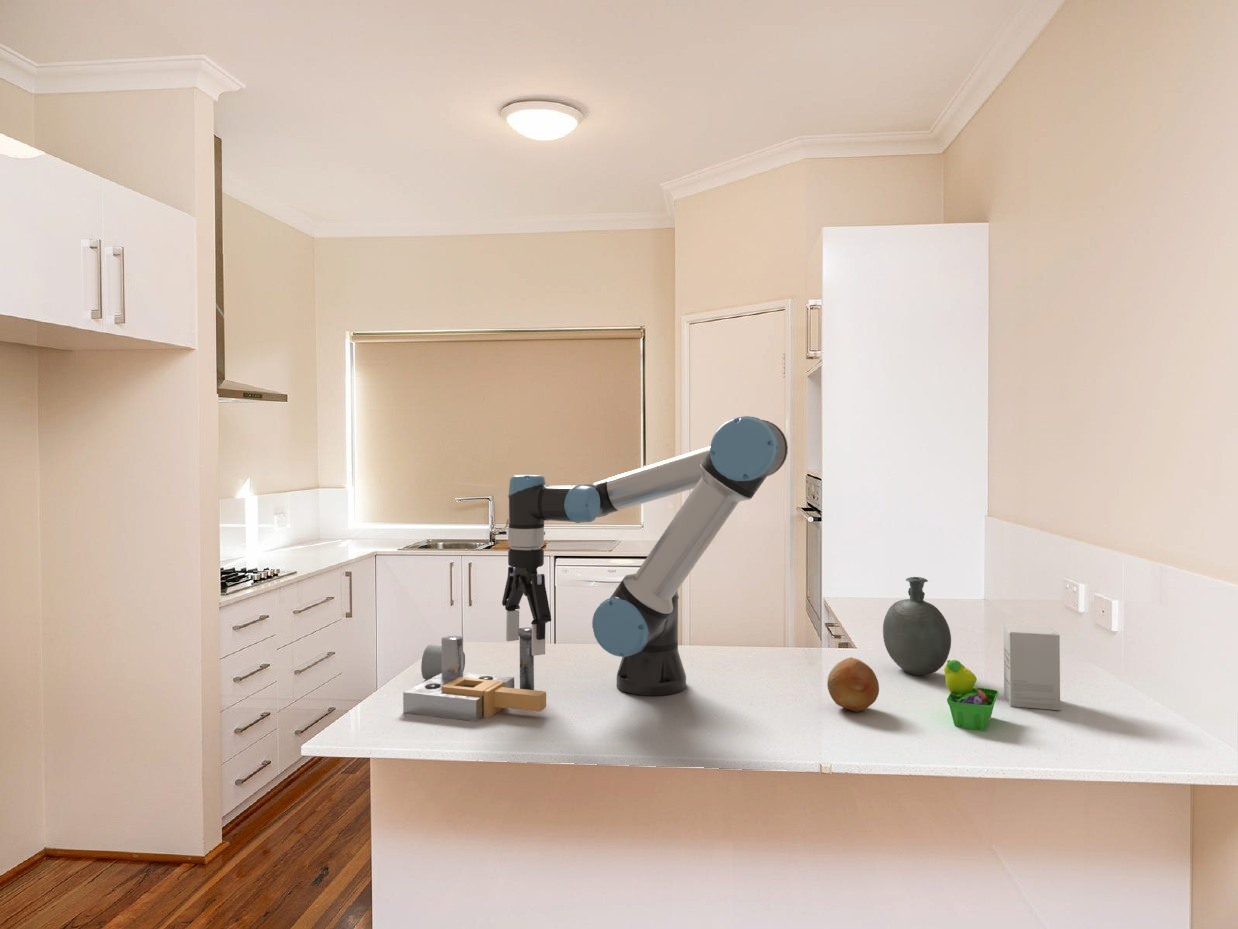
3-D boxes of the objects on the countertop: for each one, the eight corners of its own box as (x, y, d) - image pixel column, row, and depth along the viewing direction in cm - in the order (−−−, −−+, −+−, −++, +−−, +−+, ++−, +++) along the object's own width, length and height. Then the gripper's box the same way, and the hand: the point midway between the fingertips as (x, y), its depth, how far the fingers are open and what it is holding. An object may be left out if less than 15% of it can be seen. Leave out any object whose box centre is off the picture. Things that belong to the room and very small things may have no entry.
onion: (816, 705, 154) (816, 655, 154) (856, 699, 158) (856, 650, 158) (848, 721, 145) (848, 668, 145) (890, 714, 149) (890, 662, 149)
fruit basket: (991, 735, 138) (991, 672, 138) (938, 726, 142) (938, 665, 142) (999, 716, 147) (999, 657, 147) (949, 709, 152) (949, 651, 152)
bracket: (550, 711, 151) (550, 686, 151) (535, 723, 144) (535, 696, 144) (460, 701, 157) (459, 677, 157) (441, 712, 151) (441, 686, 151)
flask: (909, 685, 168) (909, 584, 168) (875, 664, 185) (876, 572, 185) (960, 683, 169) (960, 583, 169) (922, 663, 186) (922, 571, 186)
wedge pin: (538, 689, 165) (538, 628, 165) (531, 694, 162) (531, 631, 162) (522, 688, 166) (522, 626, 166) (514, 693, 163) (514, 630, 163)
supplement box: (1051, 698, 159) (1052, 625, 159) (1061, 711, 150) (1061, 634, 150) (1002, 693, 162) (1003, 622, 162) (1009, 706, 153) (1009, 631, 153)
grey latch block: (514, 696, 161) (514, 638, 161) (476, 721, 145) (476, 657, 145) (446, 689, 166) (446, 633, 166) (403, 712, 151) (403, 651, 150)
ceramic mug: (456, 684, 169) (456, 649, 169) (420, 683, 170) (420, 648, 170) (470, 672, 180) (470, 639, 180) (436, 671, 180) (436, 638, 180)
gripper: (568, 553, 155) (567, 659, 155) (519, 540, 177) (518, 633, 177) (534, 555, 151) (532, 663, 152) (488, 542, 173) (487, 636, 173)
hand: (525, 647), depth 164 cm, fingers open, 13 cm apart
